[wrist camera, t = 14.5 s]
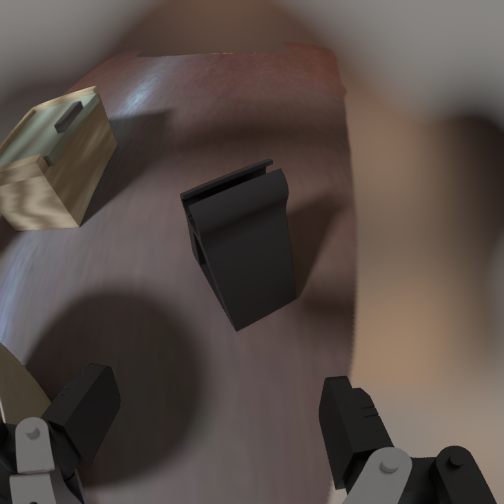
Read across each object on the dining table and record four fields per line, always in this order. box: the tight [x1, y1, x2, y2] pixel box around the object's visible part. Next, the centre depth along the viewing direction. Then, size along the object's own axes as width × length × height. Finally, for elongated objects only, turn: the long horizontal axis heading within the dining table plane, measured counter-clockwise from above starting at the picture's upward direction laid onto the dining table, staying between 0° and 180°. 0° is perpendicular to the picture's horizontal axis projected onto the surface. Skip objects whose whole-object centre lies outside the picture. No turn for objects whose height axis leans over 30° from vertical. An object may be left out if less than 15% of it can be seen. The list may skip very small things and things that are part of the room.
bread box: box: [0, 86, 118, 231], centre depth 29 cm, size 14×16×12 cm
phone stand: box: [180, 159, 296, 332], centre depth 21 cm, size 9×6×12 cm, turn 29°
